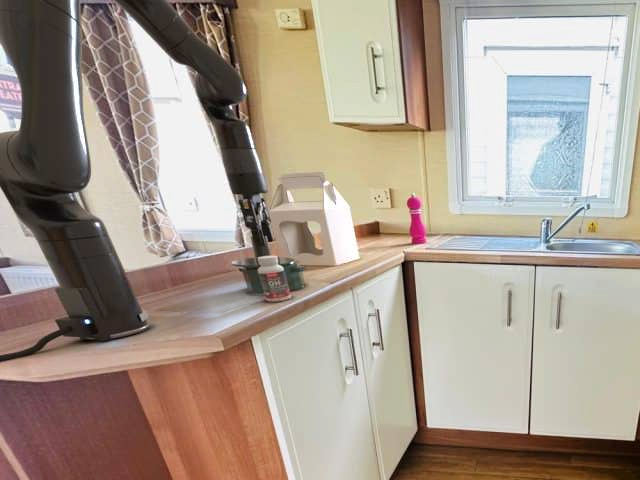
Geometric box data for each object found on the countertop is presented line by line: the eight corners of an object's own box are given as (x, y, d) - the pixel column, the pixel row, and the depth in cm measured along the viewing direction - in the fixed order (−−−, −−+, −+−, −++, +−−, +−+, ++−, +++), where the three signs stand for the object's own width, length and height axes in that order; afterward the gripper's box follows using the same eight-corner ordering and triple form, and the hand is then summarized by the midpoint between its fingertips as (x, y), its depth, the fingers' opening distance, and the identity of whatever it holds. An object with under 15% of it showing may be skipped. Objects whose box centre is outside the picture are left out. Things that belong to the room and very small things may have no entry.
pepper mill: (430, 242, 184) (424, 192, 175) (414, 244, 180) (407, 193, 172) (423, 241, 189) (417, 192, 181) (408, 243, 186) (401, 193, 177)
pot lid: (269, 271, 100) (263, 240, 97) (218, 268, 102) (210, 237, 99) (307, 262, 112) (302, 234, 109) (260, 260, 115) (254, 232, 112)
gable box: (282, 265, 145) (257, 174, 133) (309, 258, 156) (288, 174, 144) (336, 266, 139) (316, 171, 127) (360, 259, 150) (343, 171, 138)
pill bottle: (275, 303, 96) (262, 259, 92) (261, 301, 99) (248, 258, 94) (296, 297, 100) (285, 255, 96) (282, 295, 103) (270, 254, 99)
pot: (290, 295, 102) (283, 269, 100) (228, 294, 107) (219, 269, 104) (324, 283, 114) (318, 259, 111) (267, 282, 118) (260, 259, 115)
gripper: (235, 173, 104) (255, 242, 111) (216, 171, 91) (240, 248, 98) (269, 172, 105) (286, 239, 112) (254, 169, 93) (275, 246, 100)
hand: (265, 244), depth 105 cm, fingers open, 8 cm apart
